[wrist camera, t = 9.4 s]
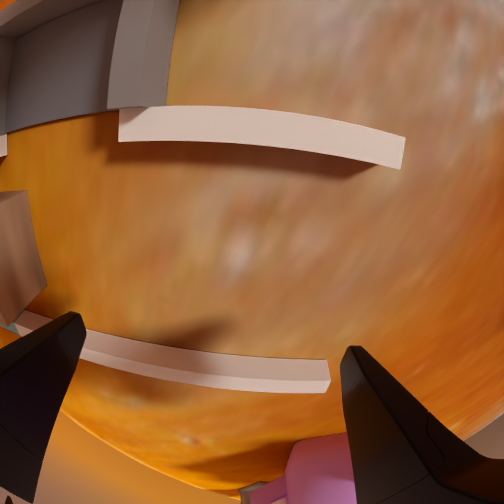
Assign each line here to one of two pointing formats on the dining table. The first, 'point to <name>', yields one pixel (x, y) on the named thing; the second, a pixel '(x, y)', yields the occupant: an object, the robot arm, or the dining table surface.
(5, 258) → the block
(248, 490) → the skyscraper
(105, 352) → the walled track with bay
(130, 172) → the dining table surface
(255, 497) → the teakettle
